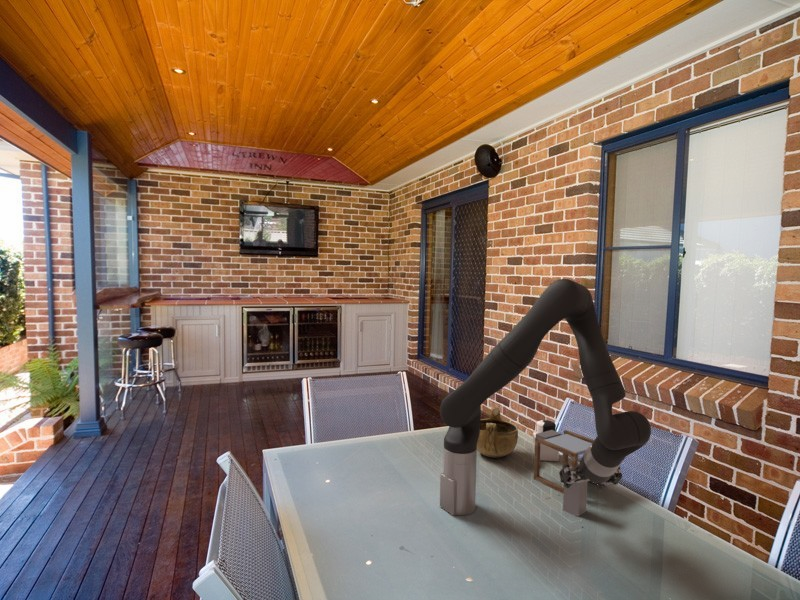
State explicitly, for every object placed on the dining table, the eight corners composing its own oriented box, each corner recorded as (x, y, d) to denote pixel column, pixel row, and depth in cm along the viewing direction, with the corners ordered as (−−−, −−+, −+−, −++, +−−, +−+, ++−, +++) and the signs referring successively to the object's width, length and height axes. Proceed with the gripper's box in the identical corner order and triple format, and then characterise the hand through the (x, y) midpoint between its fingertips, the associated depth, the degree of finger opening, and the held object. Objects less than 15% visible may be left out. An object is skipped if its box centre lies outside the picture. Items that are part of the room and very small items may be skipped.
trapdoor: (573, 457, 135) (573, 452, 135) (531, 439, 149) (531, 435, 149) (599, 449, 142) (599, 444, 141) (556, 433, 156) (556, 428, 155)
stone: (578, 516, 124) (579, 481, 123) (563, 510, 127) (564, 475, 127) (586, 511, 127) (587, 476, 126) (570, 504, 130) (572, 471, 130)
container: (553, 453, 168) (554, 418, 167) (558, 461, 160) (560, 425, 160) (532, 452, 169) (533, 417, 168) (536, 460, 161) (537, 424, 160)
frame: (573, 499, 134) (575, 454, 133) (533, 478, 147) (535, 438, 146) (605, 486, 142) (606, 444, 141) (564, 468, 155) (566, 430, 154)
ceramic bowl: (474, 441, 179) (475, 403, 178) (518, 446, 174) (519, 408, 173) (465, 463, 158) (466, 421, 157) (516, 470, 153) (517, 426, 152)
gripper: (626, 446, 111) (606, 472, 123) (567, 444, 112) (553, 470, 124) (635, 477, 106) (613, 500, 118) (573, 475, 107) (558, 498, 119)
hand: (582, 485), depth 121 cm, fingers open, 8 cm apart
